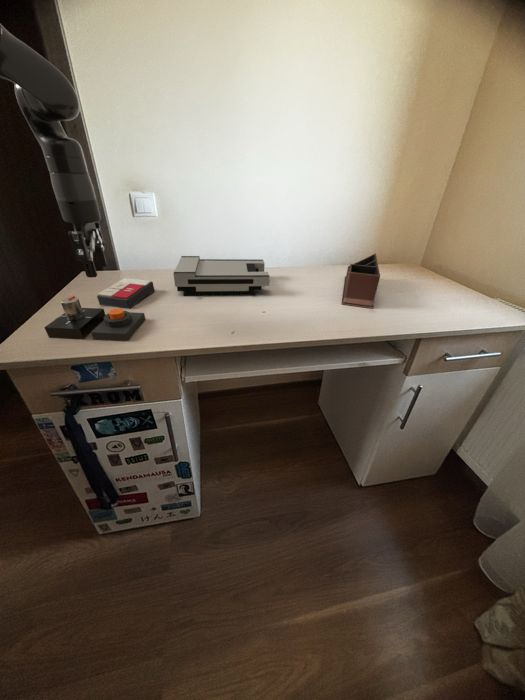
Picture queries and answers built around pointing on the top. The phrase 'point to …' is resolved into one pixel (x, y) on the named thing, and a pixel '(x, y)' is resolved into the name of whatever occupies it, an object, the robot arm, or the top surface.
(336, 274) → the top surface
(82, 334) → the dial panel
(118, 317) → the button
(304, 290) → the top surface
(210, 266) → the game console
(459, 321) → the top surface
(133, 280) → the calculator
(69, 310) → the dial
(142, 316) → the button block
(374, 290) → the desk organizer
